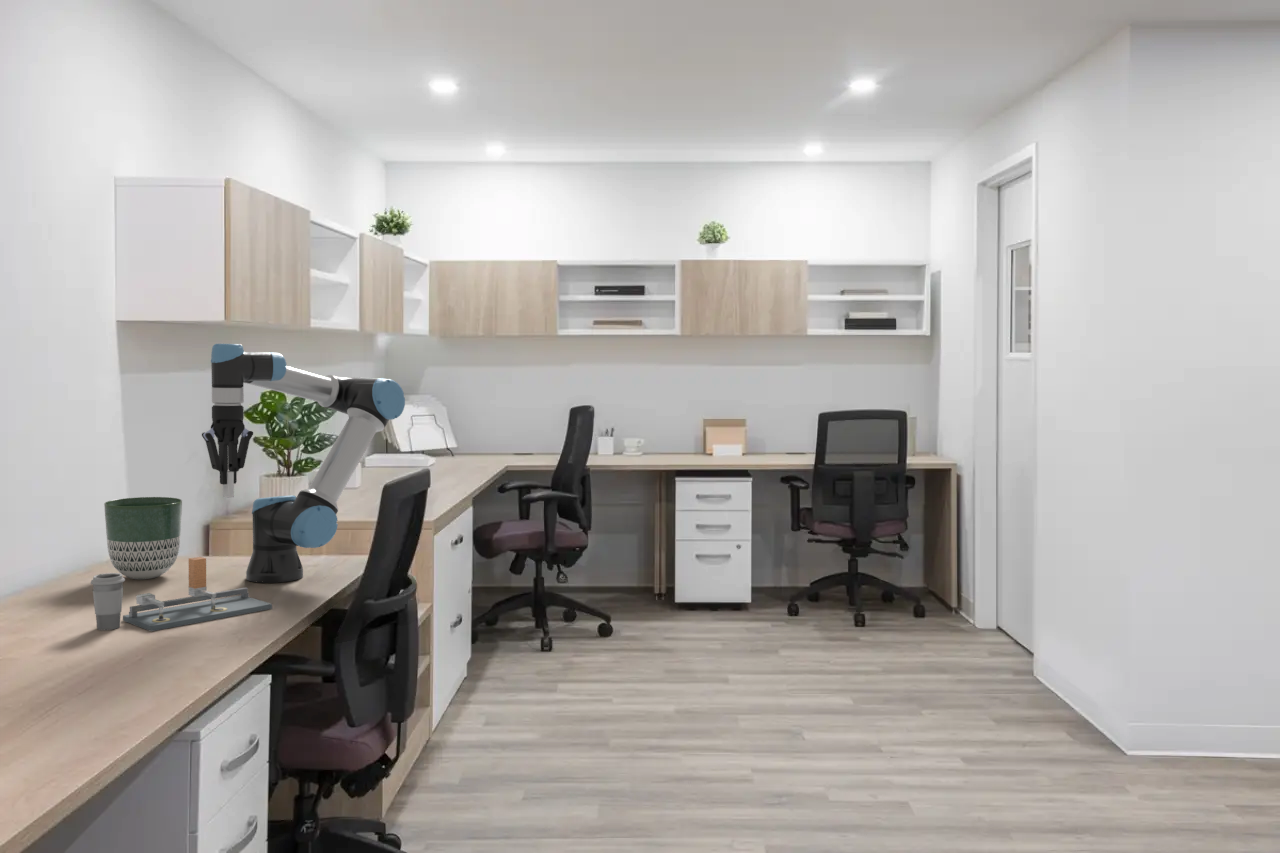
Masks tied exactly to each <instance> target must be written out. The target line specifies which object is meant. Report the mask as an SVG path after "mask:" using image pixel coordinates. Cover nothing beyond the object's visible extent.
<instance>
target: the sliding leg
mask: <svg viewBox="0 0 1280 853" xmlns="http://www.w3.org/2000/svg"><path fill="white" fill-rule="evenodd" d="M207 589H208V588H207V558H206V557H202V556H197V557H190V558H189V557H188V595H189V596H190V597H191V596H194V597H196V596H202V595H206V596H209V597H211V599H210V600H211V610H214V609H215V600H216V598H215V597H216V593H215V592H212V591H209V590H207Z"/></svg>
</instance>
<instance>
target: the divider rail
mask: <svg viewBox="0 0 1280 853" xmlns="http://www.w3.org/2000/svg"><path fill="white" fill-rule="evenodd" d="M214 593H216V597H215V599H222V598H228V597H234V596H239V595H241V598H249V597H250V593H249V588H248V587H239V588H234V589H227V590H222V591H217V592H216V591H215V592H214ZM135 596H136V598H135V599H136V604H137V605H133V606H129V611H128V615H129V617H131V618H135V617H137V613H140V612H146V611H152V610H158V609H159V619H163V609H164V608H169V607H175V606H181V605H187V604H193V603H199V602H204V601H210V600H211V597H209V596H206V595H202V596H196V597H194V596H191V595H190V596H187V597H180V598H175V599H168V600H167V599H166V600H158V599H156V594H153V593H150V592H148V593H143V594H142V593H141V594H136V595H135Z"/></svg>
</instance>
